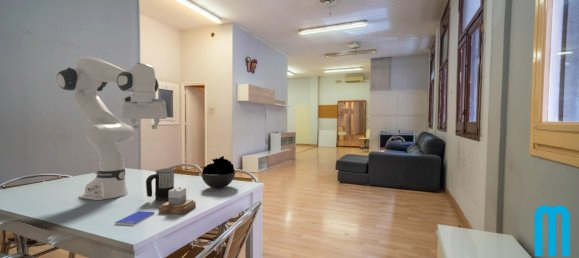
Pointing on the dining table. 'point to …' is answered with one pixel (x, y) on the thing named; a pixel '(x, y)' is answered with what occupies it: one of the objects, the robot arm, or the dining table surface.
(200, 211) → the dining table surface
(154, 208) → the dining table surface
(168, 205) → the walnut stand
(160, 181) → the milk frother
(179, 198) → the block
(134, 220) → the hard drive
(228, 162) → the coal bowl
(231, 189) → the dining table surface
